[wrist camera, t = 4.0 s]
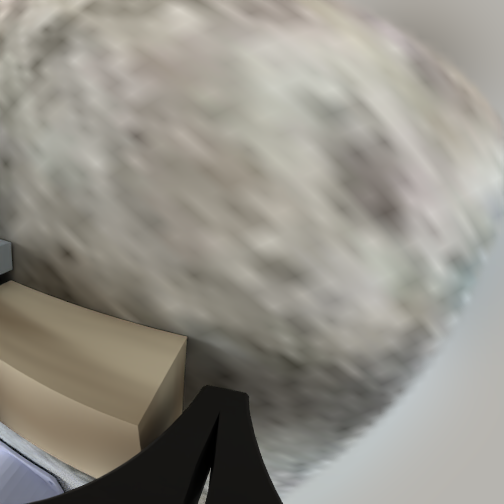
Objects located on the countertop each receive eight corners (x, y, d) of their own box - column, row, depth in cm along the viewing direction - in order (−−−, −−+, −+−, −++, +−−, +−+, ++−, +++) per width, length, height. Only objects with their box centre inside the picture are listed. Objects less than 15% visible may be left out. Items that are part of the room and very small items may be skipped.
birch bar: (182, 415, 10) (148, 498, 6) (23, 352, 10) (-31, 396, 6) (187, 336, 9) (137, 425, 5) (11, 280, 9) (-59, 314, 5)
